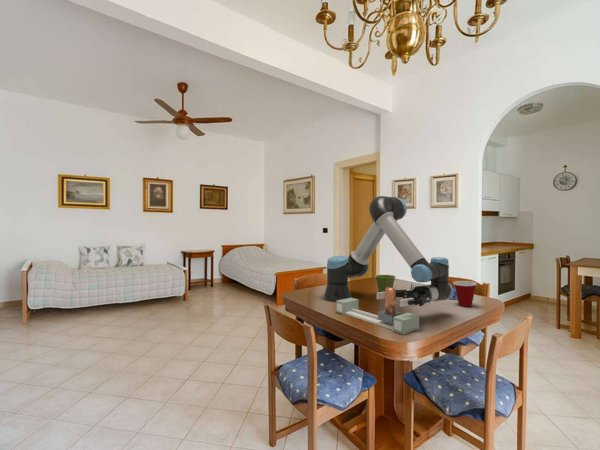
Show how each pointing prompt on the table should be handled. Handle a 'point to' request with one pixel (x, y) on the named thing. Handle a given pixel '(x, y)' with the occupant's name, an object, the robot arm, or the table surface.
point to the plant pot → (384, 282)
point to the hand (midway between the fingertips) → (388, 299)
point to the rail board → (400, 323)
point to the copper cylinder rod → (389, 306)
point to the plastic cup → (465, 292)
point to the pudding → (454, 295)
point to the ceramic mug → (415, 285)
